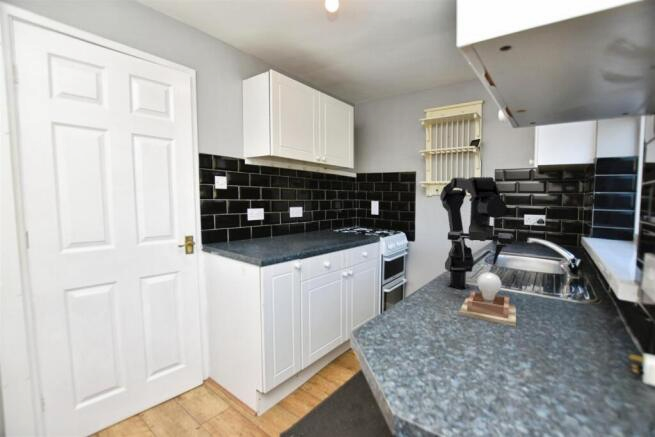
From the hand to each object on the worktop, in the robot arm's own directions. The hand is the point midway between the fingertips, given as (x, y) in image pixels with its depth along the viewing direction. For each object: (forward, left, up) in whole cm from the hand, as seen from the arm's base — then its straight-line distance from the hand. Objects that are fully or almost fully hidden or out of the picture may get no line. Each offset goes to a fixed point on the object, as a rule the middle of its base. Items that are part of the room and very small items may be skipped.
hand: (478, 262), depth 98 cm
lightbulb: (+9, +4, -12) cm, 15 cm away
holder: (+9, +4, -13) cm, 16 cm away
